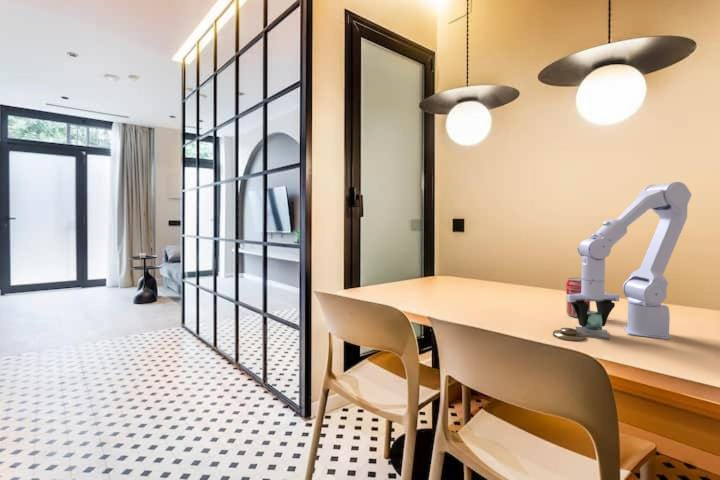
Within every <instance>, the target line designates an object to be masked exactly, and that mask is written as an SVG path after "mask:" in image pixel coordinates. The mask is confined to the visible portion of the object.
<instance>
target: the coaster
mask: <svg viewBox="0 0 720 480" xmlns="http://www.w3.org/2000/svg"><path fill="white" fill-rule="evenodd" d="M575 330H577V332H580V333H582V334H584V335H585V338H593V339H600V340H601V339H602V340H610V338H611V337H610V335H609V333H608V330H607V329H603V328H602V330H600V331H597V330H588V329H585V328H583V327H582V326H575Z"/></svg>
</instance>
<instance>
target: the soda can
mask: <svg viewBox="0 0 720 480" xmlns="http://www.w3.org/2000/svg"><path fill="white" fill-rule="evenodd" d="M581 278H582V277H568V278H567V281H566V285H565V286H566V289H565V293H566V294H578V293H581ZM566 294H565V295H566ZM565 301H566V300H565ZM585 303H586V304H587V305H589V308H588V311H591V301H585ZM565 307H566V314H567V315H568V316H569V317H572V318H577V319H578V317H577V314H576V312H575V309H574V307H573V306H572V304H571V302H568V301H566V305H565Z"/></svg>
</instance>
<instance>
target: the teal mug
mask: <svg viewBox="0 0 720 480" xmlns="http://www.w3.org/2000/svg"><path fill="white" fill-rule="evenodd" d="M602 316H603V314H602V313H600V312H597V311H596V310H595V311H594V310H590V311H587V320H586V327H583V326H581V327H583V328H585V329H588V330H597V331H600V330H602V329H603V326H602Z"/></svg>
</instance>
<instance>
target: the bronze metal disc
mask: <svg viewBox="0 0 720 480" xmlns="http://www.w3.org/2000/svg"><path fill="white" fill-rule="evenodd" d="M552 336H553V337H554V338H556V339H558V340H562V341H569V342H581V341H584V340H586V339H585V338H586V337H585V335H584V334H582V333H580V332H577V330H576V328H573V327H572V328H571V327H561V328H560V329H555V330H553V331H552Z"/></svg>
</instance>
